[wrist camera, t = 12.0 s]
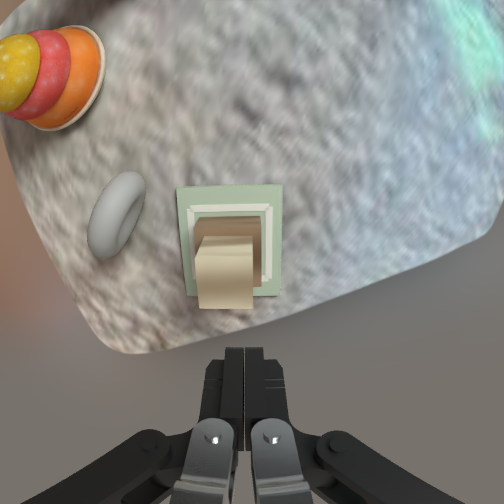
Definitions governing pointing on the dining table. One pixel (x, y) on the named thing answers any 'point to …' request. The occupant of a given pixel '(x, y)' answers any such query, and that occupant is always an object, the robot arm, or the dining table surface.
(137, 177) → the donut
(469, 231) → the dining table surface
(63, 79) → the stacking toy
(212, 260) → the maple block
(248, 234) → the walnut block
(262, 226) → the build board
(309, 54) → the dining table surface
